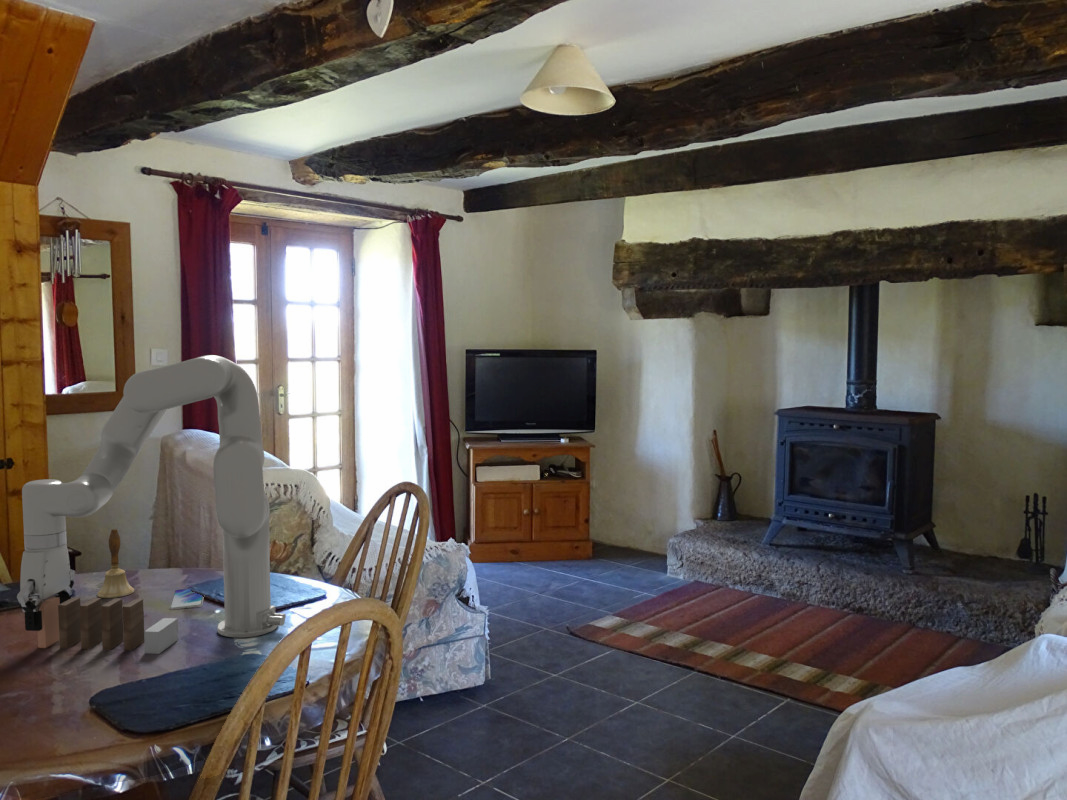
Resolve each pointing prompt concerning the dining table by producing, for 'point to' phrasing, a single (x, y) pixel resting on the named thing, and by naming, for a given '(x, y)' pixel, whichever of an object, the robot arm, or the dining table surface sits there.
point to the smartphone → (186, 599)
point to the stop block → (161, 635)
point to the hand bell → (115, 573)
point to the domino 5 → (133, 624)
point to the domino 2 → (69, 622)
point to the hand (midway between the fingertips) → (49, 622)
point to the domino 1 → (49, 622)
